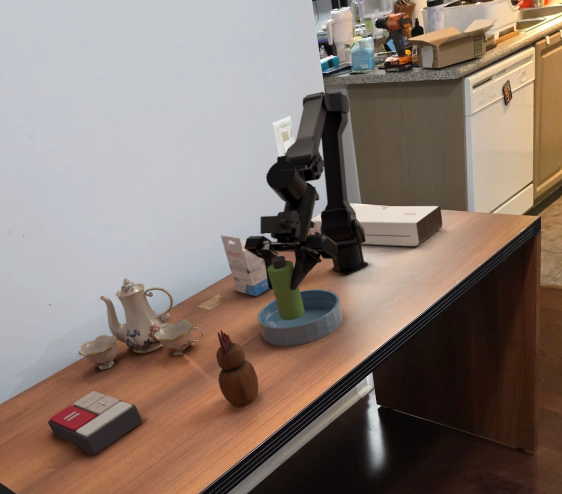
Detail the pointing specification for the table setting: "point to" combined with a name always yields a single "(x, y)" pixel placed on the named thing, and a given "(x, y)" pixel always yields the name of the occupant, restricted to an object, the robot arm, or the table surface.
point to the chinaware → (138, 328)
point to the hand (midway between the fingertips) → (281, 289)
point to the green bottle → (285, 289)
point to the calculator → (95, 421)
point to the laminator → (393, 224)
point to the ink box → (245, 267)
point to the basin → (302, 319)
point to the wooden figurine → (235, 373)
